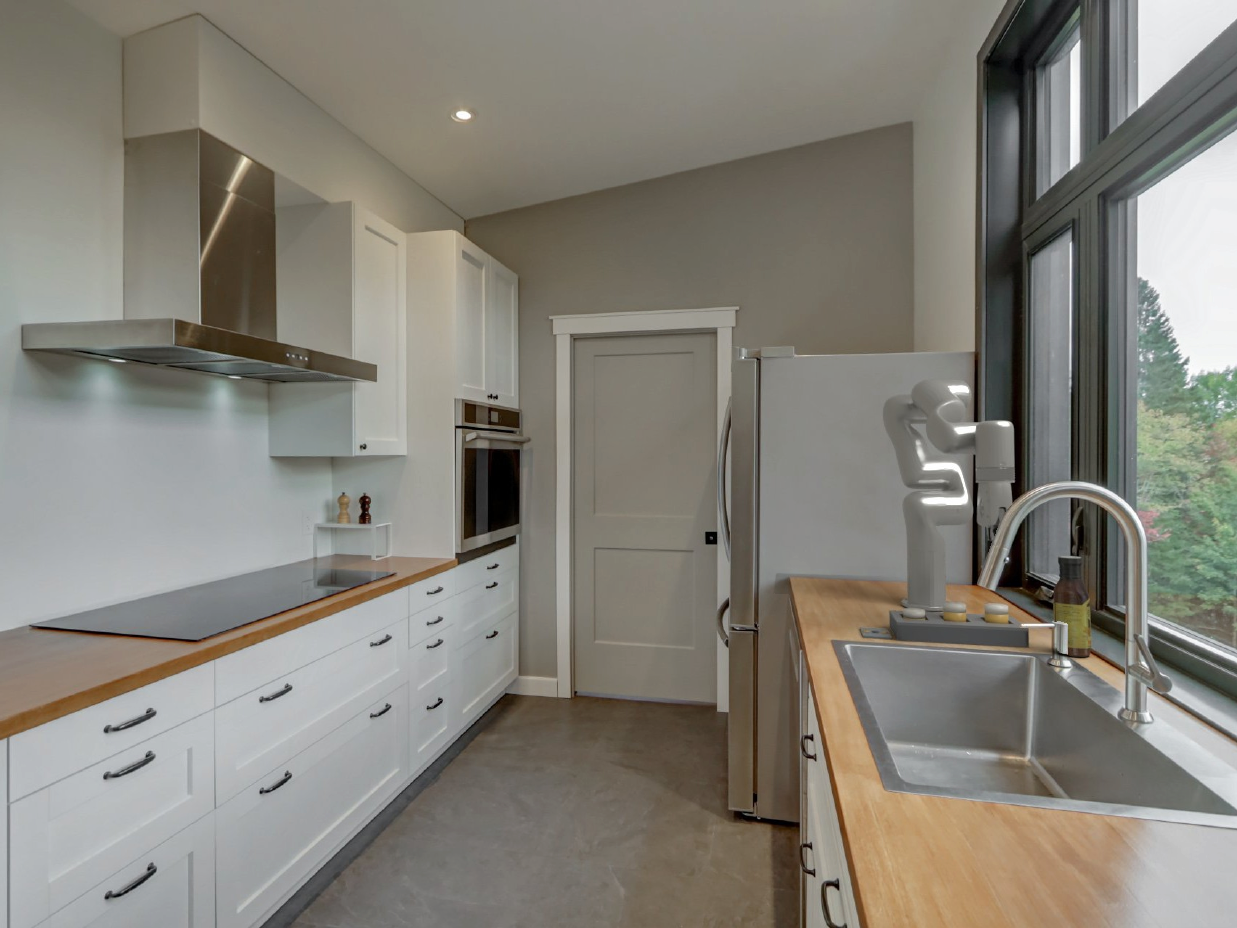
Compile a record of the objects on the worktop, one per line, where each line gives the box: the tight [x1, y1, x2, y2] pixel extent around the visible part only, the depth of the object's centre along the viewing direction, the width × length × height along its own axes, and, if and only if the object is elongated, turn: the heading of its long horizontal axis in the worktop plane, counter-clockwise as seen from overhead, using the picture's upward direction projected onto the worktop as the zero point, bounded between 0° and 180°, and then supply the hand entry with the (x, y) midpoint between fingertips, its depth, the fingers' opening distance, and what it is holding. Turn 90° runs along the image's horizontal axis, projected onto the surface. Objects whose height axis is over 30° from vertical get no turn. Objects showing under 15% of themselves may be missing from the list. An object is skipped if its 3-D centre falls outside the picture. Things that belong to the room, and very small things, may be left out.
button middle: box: [942, 601, 967, 622], centre depth 149 cm, size 5×5×6 cm
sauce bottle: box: [1052, 555, 1092, 658], centre depth 135 cm, size 6×6×20 cm
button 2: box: [984, 602, 1009, 624], centre depth 147 cm, size 5×5×6 cm
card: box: [859, 626, 893, 640], centre depth 152 cm, size 8×6×1 cm
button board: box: [888, 609, 1030, 648], centre depth 149 cm, size 12×26×4 cm, turn 75°
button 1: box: [902, 607, 926, 620], centre depth 151 cm, size 5×5×6 cm
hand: (996, 558), depth 146 cm, fingers closed
